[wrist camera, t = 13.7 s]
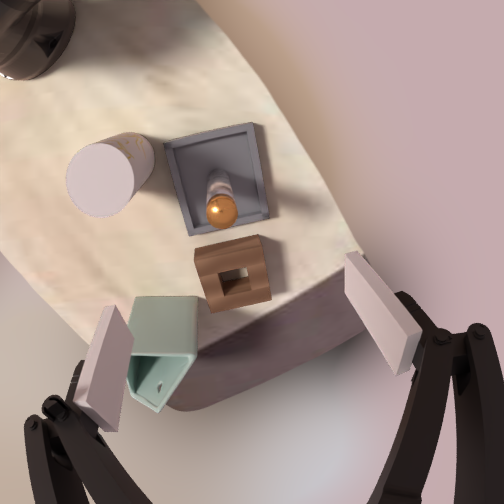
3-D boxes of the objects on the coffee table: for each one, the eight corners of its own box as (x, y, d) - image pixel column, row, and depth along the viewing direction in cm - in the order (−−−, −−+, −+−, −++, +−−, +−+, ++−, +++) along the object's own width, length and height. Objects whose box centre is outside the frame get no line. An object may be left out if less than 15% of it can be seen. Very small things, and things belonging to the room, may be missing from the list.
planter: (164, 269, 46) (147, 363, 29) (199, 297, 50) (199, 392, 32) (111, 320, 50) (86, 405, 32) (143, 342, 53) (129, 428, 36)
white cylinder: (159, 135, 36) (138, 146, 26) (151, 190, 40) (131, 222, 29) (105, 130, 34) (68, 141, 24) (99, 184, 38) (65, 213, 27)
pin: (210, 191, 40) (210, 231, 28) (205, 171, 39) (203, 203, 27) (230, 186, 40) (240, 225, 28) (226, 166, 39) (234, 196, 27)
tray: (165, 141, 37) (163, 143, 35) (251, 121, 37) (252, 122, 35) (189, 231, 43) (189, 236, 42) (267, 213, 44) (269, 218, 42)
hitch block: (194, 248, 45) (193, 261, 41) (257, 234, 45) (262, 246, 42) (210, 298, 50) (211, 313, 46) (267, 285, 50) (271, 299, 47)
